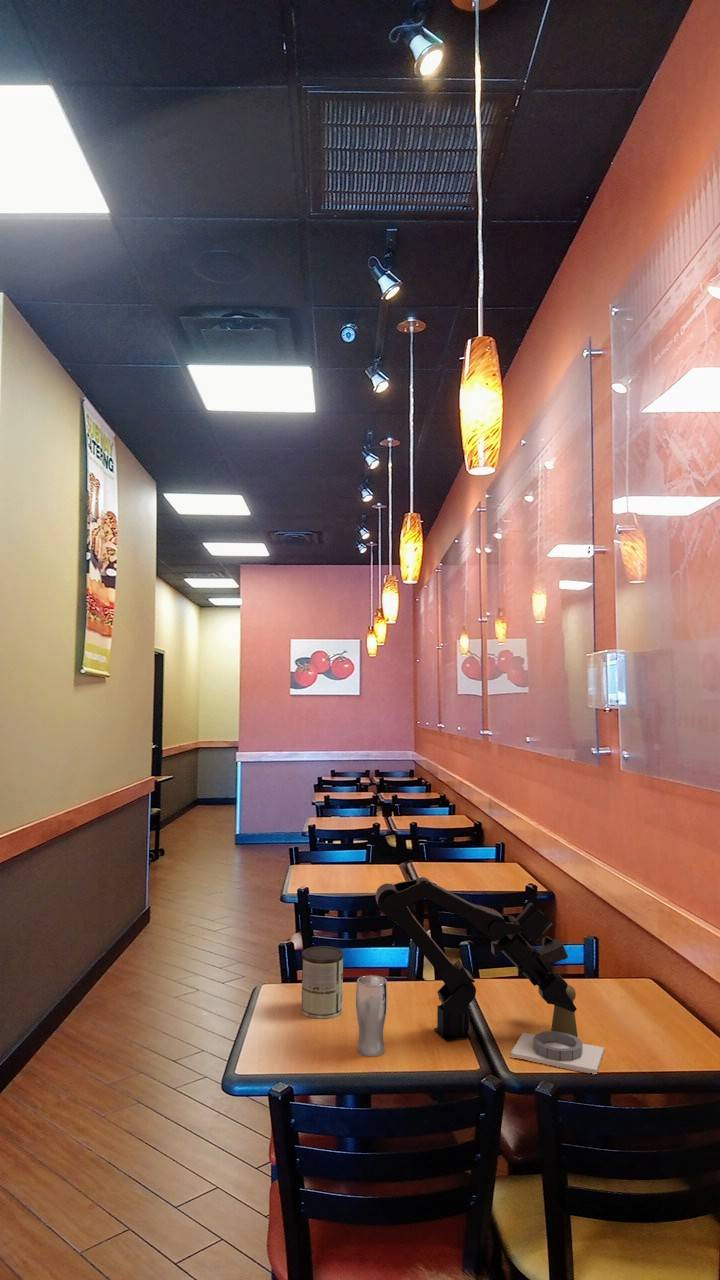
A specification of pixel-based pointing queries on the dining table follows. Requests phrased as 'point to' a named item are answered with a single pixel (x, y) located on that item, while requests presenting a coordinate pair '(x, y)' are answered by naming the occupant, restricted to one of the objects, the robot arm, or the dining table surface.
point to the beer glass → (371, 1014)
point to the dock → (559, 1051)
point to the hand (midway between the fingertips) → (568, 1003)
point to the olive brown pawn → (565, 1016)
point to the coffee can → (322, 982)
